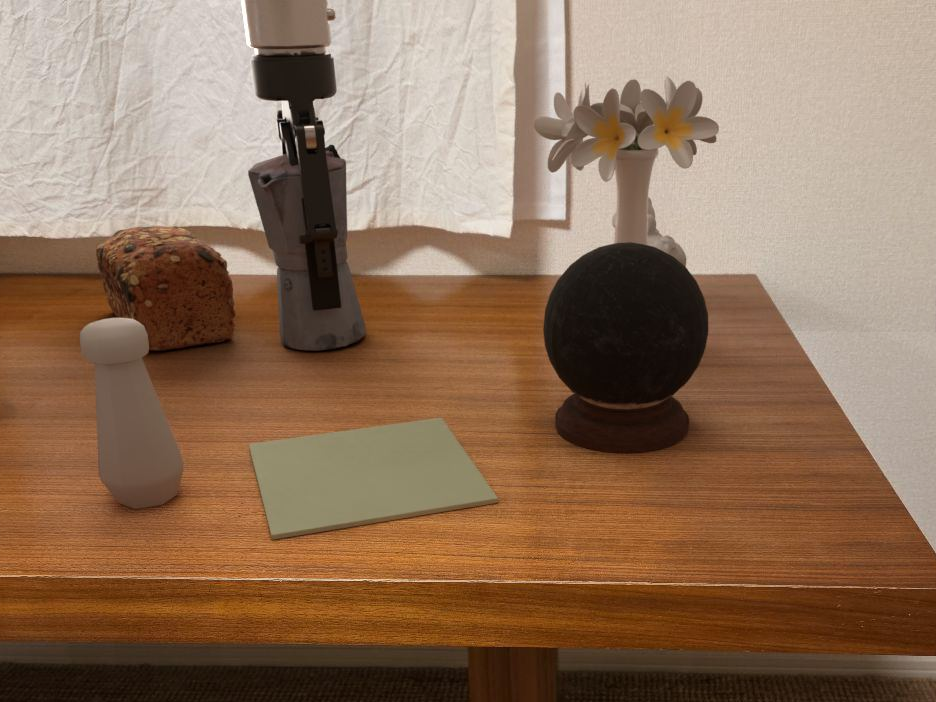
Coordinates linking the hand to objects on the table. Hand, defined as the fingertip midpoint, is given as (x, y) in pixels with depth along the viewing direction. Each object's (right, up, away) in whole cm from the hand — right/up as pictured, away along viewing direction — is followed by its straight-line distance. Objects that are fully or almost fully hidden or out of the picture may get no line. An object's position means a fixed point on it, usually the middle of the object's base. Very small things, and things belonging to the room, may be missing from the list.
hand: (319, 295), depth 103 cm
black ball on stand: (+29, -16, -18) cm, 38 cm away
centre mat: (+9, -20, -26) cm, 34 cm away
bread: (-18, -2, +6) cm, 19 cm away
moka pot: (0, -4, +2) cm, 5 cm away
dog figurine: (+35, +4, +16) cm, 38 cm away
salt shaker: (-6, -22, -29) cm, 37 cm away
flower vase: (+31, -5, 0) cm, 31 cm away
